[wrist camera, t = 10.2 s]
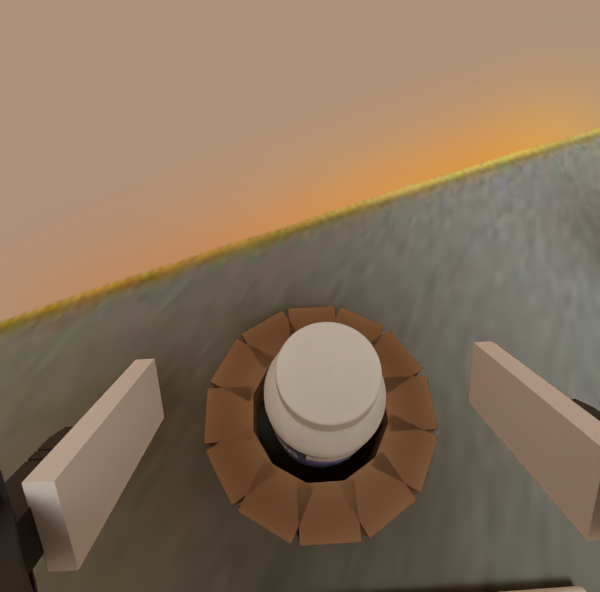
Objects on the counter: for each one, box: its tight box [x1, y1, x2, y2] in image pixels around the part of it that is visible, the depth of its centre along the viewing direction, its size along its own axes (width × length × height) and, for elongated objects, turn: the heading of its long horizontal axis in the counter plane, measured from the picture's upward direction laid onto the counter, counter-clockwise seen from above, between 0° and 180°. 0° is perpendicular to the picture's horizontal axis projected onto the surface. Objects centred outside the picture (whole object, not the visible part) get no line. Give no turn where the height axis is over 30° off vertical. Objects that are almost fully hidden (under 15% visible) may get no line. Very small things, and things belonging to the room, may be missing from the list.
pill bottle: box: [264, 322, 386, 468], centre depth 18 cm, size 5×5×10 cm
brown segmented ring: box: [204, 306, 438, 546], centre depth 21 cm, size 12×12×3 cm
